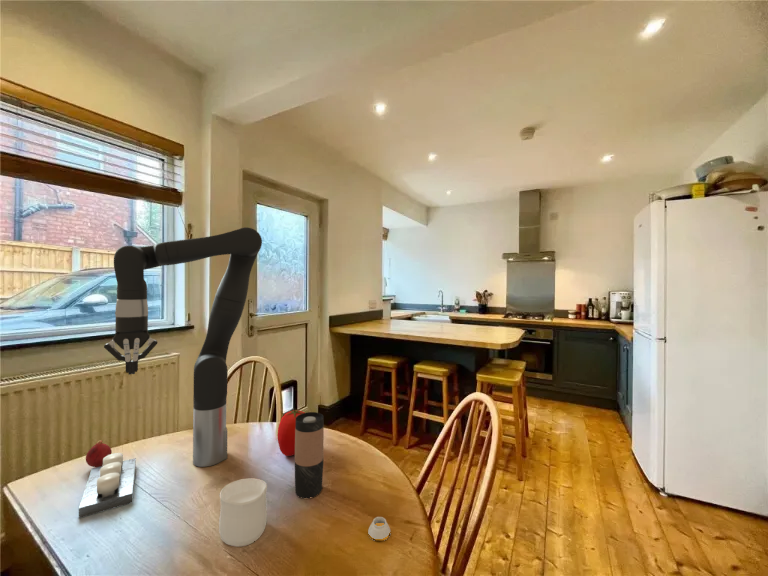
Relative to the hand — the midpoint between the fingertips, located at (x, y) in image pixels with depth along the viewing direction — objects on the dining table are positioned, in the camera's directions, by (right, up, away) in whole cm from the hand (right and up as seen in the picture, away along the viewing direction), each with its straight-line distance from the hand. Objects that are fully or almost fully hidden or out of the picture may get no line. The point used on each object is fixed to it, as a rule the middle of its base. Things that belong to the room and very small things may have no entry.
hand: (131, 373), depth 96 cm
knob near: (+4, -29, -13) cm, 32 cm away
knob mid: (0, -29, -8) cm, 30 cm away
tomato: (+45, -30, +13) cm, 55 cm away
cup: (+42, -30, -22) cm, 56 cm away
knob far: (-3, -29, -3) cm, 29 cm away
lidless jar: (+73, -31, -22) cm, 82 cm away
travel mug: (+54, -30, -7) cm, 62 cm away
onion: (-12, -29, +2) cm, 31 cm away
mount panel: (0, -29, -8) cm, 30 cm away
